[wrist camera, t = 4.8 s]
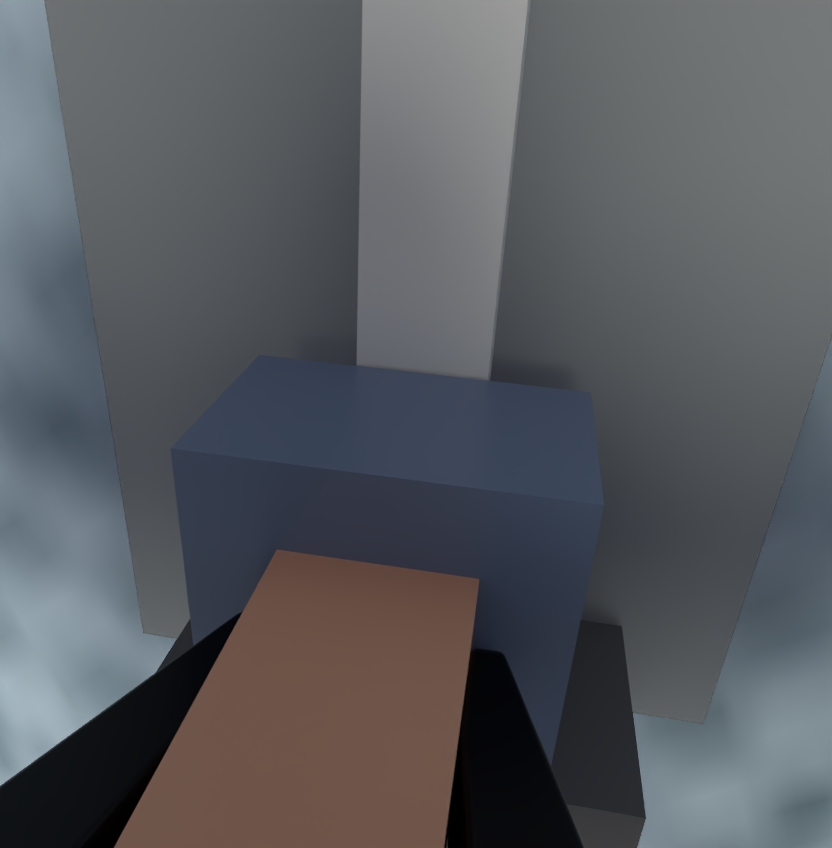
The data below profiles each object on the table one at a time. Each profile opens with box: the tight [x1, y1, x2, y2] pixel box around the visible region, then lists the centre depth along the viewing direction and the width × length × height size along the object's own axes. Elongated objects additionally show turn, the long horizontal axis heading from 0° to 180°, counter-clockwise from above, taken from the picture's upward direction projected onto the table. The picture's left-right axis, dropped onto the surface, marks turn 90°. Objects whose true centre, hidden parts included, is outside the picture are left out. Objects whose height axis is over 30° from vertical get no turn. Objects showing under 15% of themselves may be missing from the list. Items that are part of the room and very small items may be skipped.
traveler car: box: [114, 355, 604, 848], centre depth 9 cm, size 5×5×8 cm
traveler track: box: [45, 0, 832, 848], centre depth 9 cm, size 22×12×5 cm, turn 177°
